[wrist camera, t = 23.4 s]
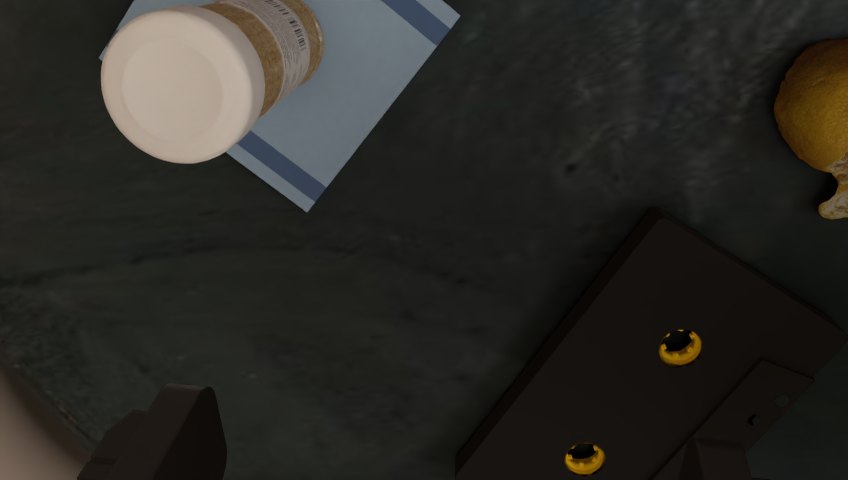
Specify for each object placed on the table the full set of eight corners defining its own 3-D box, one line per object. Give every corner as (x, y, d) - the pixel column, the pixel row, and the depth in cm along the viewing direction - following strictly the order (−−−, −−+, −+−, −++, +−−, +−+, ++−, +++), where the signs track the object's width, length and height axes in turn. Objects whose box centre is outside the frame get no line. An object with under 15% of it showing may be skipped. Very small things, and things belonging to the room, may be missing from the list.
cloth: (460, 15, 34) (460, 16, 34) (308, 210, 38) (306, 212, 37) (240, -169, 32) (238, -171, 32) (101, 57, 36) (97, 58, 35)
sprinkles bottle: (211, 9, 34) (66, 41, 22) (304, -27, 33) (209, -15, 21) (252, 104, 36) (139, 186, 23) (342, 72, 35) (275, 139, 22)
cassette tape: (618, 549, 44) (625, 578, 42) (452, 458, 43) (452, 483, 41) (833, 319, 39) (854, 339, 37) (652, 203, 37) (663, 217, 35)
